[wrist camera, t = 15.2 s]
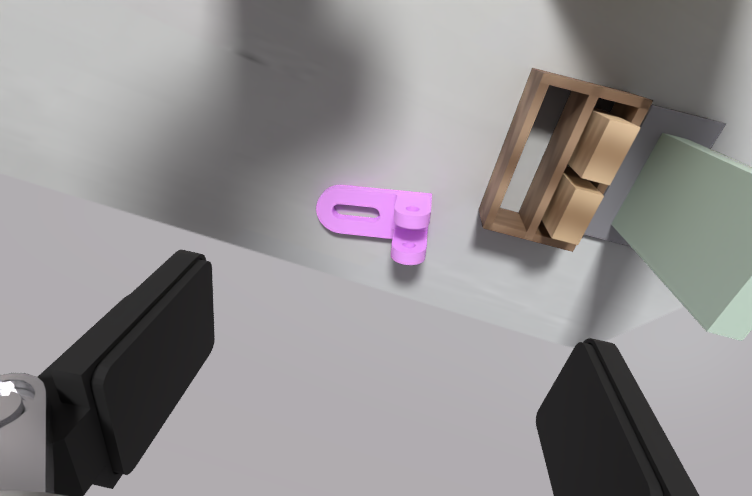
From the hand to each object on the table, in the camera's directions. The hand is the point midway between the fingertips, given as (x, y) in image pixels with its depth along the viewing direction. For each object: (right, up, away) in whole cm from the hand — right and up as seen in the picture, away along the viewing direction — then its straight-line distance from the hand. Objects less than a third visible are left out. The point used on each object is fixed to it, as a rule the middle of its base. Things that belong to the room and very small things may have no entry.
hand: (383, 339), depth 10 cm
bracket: (-1, +7, +38) cm, 38 cm away
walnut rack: (+17, +12, +32) cm, 38 cm away
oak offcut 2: (+20, +14, +30) cm, 39 cm away
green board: (+27, +9, +31) cm, 42 cm away
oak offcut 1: (+19, +9, +33) cm, 39 cm away
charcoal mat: (+28, +9, +32) cm, 43 cm away
